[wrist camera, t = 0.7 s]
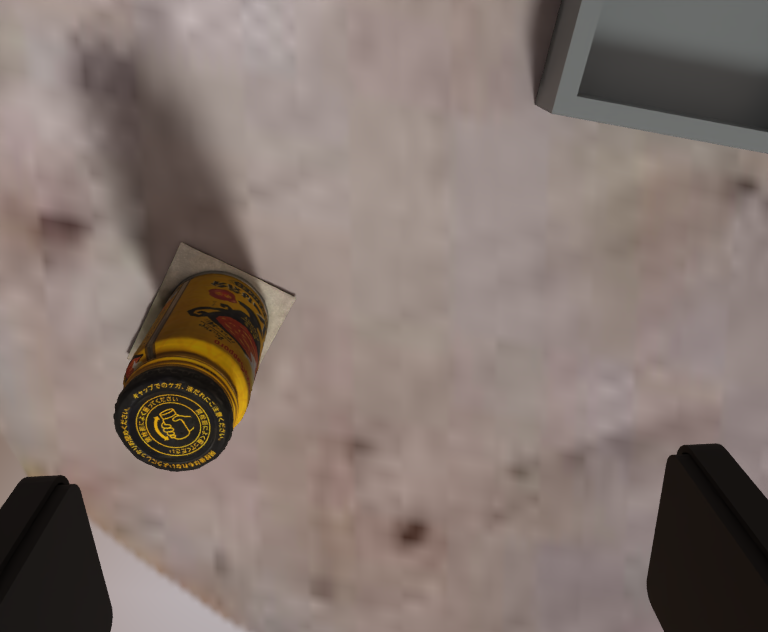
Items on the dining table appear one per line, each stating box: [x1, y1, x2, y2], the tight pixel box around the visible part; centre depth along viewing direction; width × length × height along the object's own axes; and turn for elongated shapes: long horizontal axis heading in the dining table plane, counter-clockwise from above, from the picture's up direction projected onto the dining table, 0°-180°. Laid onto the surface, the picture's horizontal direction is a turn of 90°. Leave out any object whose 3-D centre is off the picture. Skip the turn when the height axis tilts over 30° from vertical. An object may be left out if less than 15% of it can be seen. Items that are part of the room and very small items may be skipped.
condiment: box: [113, 242, 296, 472], centre depth 36 cm, size 7×8×12 cm
